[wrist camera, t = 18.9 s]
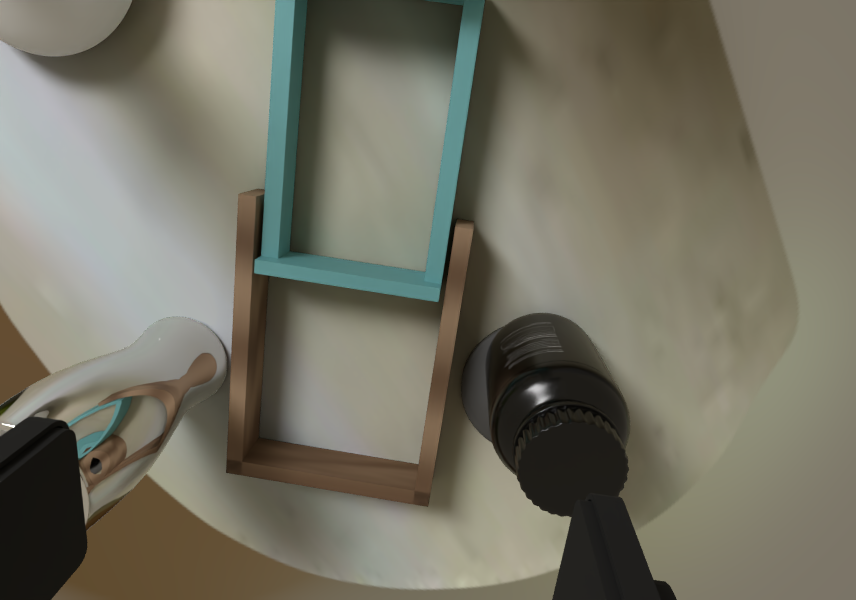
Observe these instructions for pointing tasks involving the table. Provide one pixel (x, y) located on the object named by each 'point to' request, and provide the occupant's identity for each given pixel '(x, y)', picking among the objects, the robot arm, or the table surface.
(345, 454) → the walnut cubby
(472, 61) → the teal drawer
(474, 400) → the coaster
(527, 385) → the supplement bottle
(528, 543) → the table surface
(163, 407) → the beer glass
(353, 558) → the table surface
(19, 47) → the flower in vase
